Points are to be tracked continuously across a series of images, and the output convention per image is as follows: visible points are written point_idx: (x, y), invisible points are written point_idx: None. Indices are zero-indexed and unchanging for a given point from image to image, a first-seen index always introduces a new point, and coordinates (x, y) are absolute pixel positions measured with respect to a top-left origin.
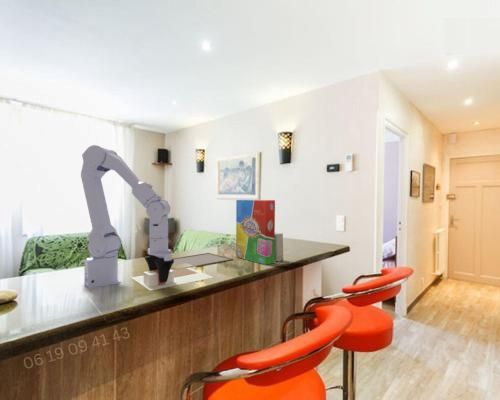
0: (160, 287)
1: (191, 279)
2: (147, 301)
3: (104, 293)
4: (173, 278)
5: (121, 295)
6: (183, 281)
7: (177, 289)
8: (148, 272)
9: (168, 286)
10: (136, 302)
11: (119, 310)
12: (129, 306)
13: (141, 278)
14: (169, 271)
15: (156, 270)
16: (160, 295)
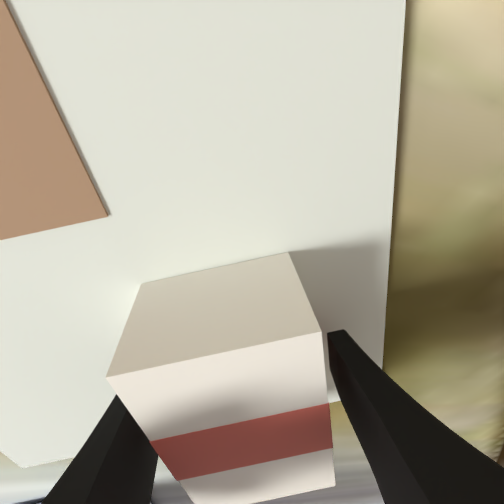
0: (363, 347)
1: (302, 30)
2: (498, 394)
3: (267, 501)
4: (296, 275)
5: (336, 463)
6: (326, 161)
7: (458, 250)
8: (237, 493)
9: (379, 304)
10: (470, 423)
11: (496, 454)
12: (489, 437)
13: (68, 427)
14: (314, 372)
15: (193, 458)
16: (474, 348)
